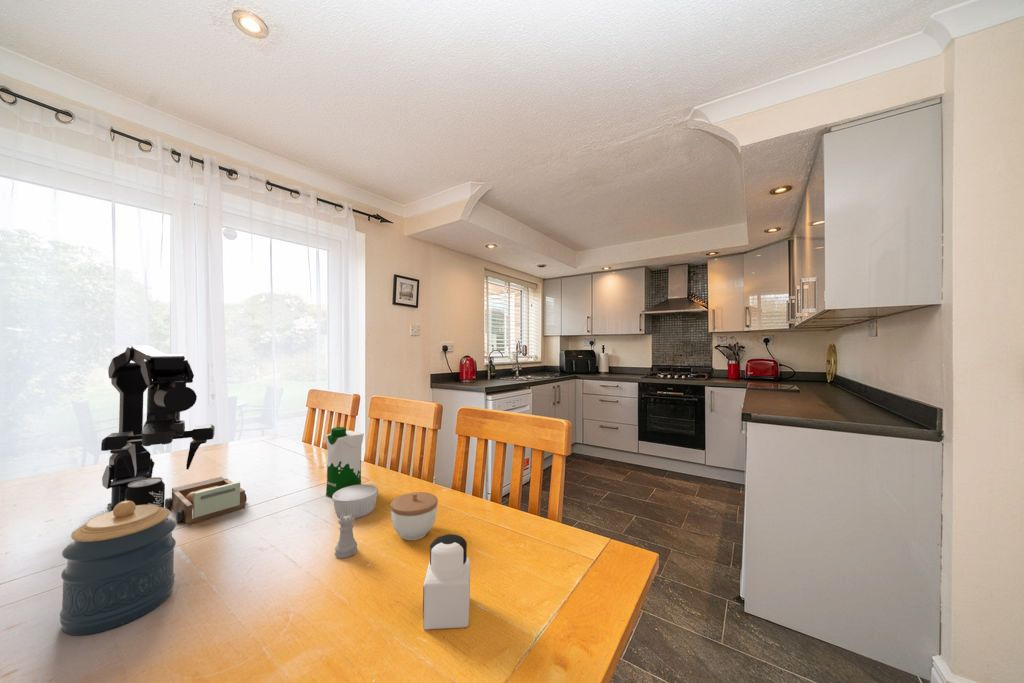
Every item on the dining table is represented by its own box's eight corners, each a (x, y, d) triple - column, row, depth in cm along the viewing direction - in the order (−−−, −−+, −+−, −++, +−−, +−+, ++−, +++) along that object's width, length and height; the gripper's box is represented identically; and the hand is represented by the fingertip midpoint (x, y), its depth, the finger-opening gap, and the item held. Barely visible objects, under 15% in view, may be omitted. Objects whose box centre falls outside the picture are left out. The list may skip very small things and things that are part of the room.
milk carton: (321, 496, 106) (322, 428, 106) (349, 486, 113) (350, 422, 114) (338, 503, 101) (339, 432, 101) (366, 492, 108) (367, 426, 109)
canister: (67, 652, 51) (71, 528, 52) (52, 615, 58) (56, 506, 58) (185, 598, 62) (188, 496, 63) (161, 573, 69) (163, 481, 70)
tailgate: (193, 516, 89) (193, 492, 90) (238, 503, 97) (238, 481, 97) (194, 518, 89) (195, 493, 89) (240, 505, 96) (240, 482, 96)
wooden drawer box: (163, 506, 98) (164, 489, 98) (227, 490, 109) (227, 475, 109) (180, 526, 87) (181, 507, 87) (249, 505, 99) (249, 489, 99)
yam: (184, 504, 97) (184, 492, 97) (220, 494, 104) (220, 483, 104) (187, 507, 95) (187, 495, 95) (224, 497, 102) (224, 485, 102)
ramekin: (322, 516, 93) (322, 496, 93) (355, 499, 103) (356, 481, 104) (354, 524, 89) (355, 503, 89) (386, 506, 99) (386, 487, 99)
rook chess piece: (362, 549, 78) (362, 512, 78) (346, 561, 74) (347, 522, 74) (345, 545, 79) (346, 509, 79) (329, 557, 75) (330, 518, 75)
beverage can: (137, 541, 80) (139, 488, 80) (115, 538, 81) (117, 485, 82) (171, 527, 87) (172, 477, 87) (150, 524, 88) (151, 475, 88)
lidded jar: (446, 533, 85) (446, 493, 85) (405, 551, 77) (406, 508, 77) (421, 518, 92) (421, 482, 93) (381, 533, 85) (382, 494, 85)
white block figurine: (429, 599, 63) (430, 530, 63) (469, 597, 63) (470, 528, 64) (422, 630, 56) (423, 553, 56) (468, 628, 56) (469, 551, 57)
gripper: (93, 416, 73) (91, 493, 73) (212, 408, 84) (210, 475, 84) (110, 408, 82) (107, 476, 82) (215, 402, 93) (213, 462, 93)
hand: (161, 472), depth 85 cm, fingers open, 9 cm apart
